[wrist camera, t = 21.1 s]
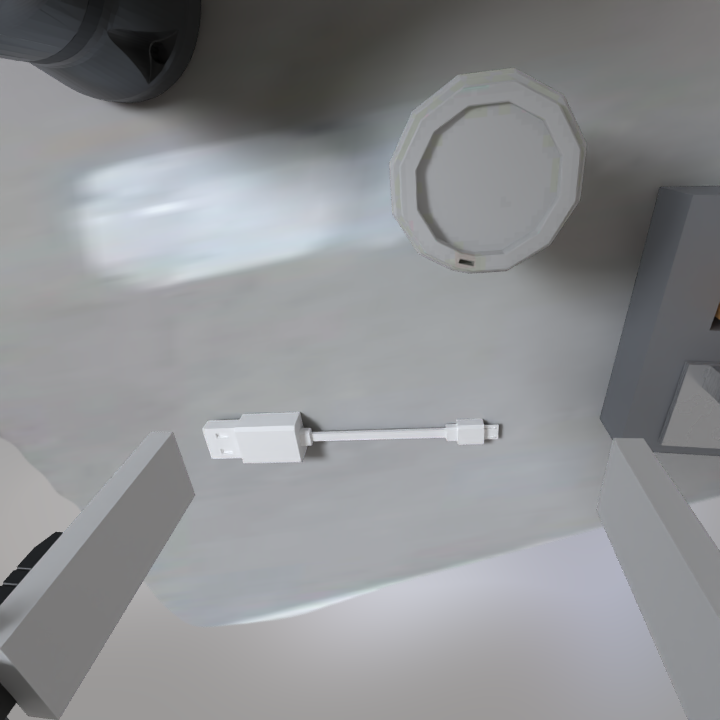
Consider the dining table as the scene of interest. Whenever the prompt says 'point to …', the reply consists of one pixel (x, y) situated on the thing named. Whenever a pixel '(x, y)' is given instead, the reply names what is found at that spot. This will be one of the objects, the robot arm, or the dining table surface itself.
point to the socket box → (668, 316)
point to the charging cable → (314, 436)
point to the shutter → (695, 408)
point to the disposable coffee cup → (487, 171)
